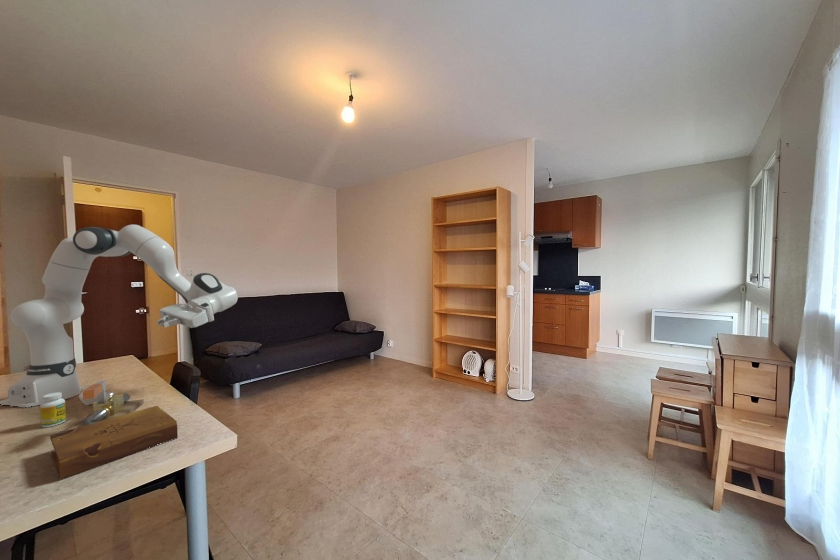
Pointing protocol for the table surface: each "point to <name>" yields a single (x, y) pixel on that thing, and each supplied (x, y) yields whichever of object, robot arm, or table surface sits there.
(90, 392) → the valve lever
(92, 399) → the muffin
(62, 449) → the brown wooden block
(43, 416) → the supplement bottle
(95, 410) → the ball valve
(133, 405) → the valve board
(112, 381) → the table surface
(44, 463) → the table surface
